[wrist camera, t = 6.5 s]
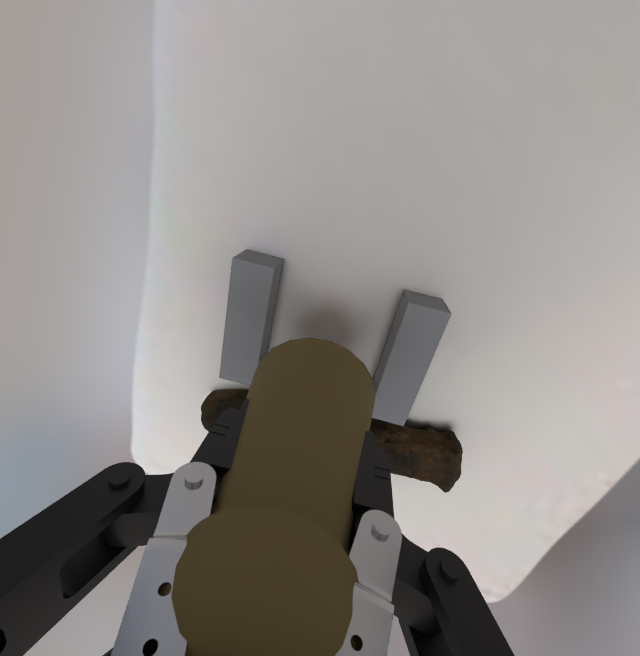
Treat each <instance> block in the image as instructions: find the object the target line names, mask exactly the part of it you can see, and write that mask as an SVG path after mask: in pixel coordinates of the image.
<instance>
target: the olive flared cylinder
mask: <svg viewBox="0 0 640 656" xmlns="http://www.w3.org/2000/svg"><path fill="white" fill-rule="evenodd" d="M246 398H247V399H249V404H248V408H247V412H246V415H245V419H244V423H243V426H242V430H241V434H240V437H239V441H238V445H237V448H236V452H235V456H234V459H233V463H232V467H231V469H230V470H229V471H228V472H227V473H226V474H224V476H223V478H222V481H221V485H220V488H219V490H218V493H217V496H216V499H215V501H214V504H213V506H212V509H211V515H210V516H208V517H207V518H205V519H203V520H201V521H200V522H199V523H198V524H196V525H195V526H194V527H193V528H192V529H191V530H190V531H189V533H188V534H187V535H186V537H187V544H186V547H185V549H184V551H183V553H182V555H181V557H180V559H179V561H178V563H177V565H176V569H175V575H174V582H173V589H172V587H171V585H167V586H165V588H164V589H163V590H162V591H161V593H160V596H166V595H168V594H169V593H170V592H171V589H172V596H171V599H172V603H173V608H174V612H175V616H176V620H177V625H178V629H179V633H180V634H181V635H182V636H183V637H184V639H185V640H186V641H187V646H186V653H185V656H335V655H336V654H337V652H338V651H339V650H340V649H341V647H342V646H343V643H344V640H345V637H346V634H347V631H348V628H349V625H350V621H351V618H352V615H353V588H354V584H355V582H357V583H359V580H358V575H357V570H356V568H355V566H354V564H353V563H352V561H351V560H350V558H349V556H348V555H347V551H348V545H349V540H350V534H351V529H352V523H353V518H354V516H353V511H352V503H353V494H354V484H355V479H356V474H357V470H358V465H359V460H360V455H361V451H362V446H363V441H364V437H365V432H366V430H367V431H369V430H370V425H371V419H372V414H373V408H374V403H375V390H374V383H373V379H372V377H371V376H370V374H369V372H368V370H367V368H366V367H365V365H364V363H363V362H361V361H360V360H359V359H358V358H357V357H356V356H355V355H354V354H353V353H352V352H351V351H349V350H348V349H345V348H343V347H341V346H339V345H337V344H335V343H333V342H331V341H325V340H320V339H314V338H305V339H297V340H289V341H287V342H285V343H283V344H281V345H279V346H276V347H274V348H272V349H271V350H270V351H269V352H268V353H267V354H266V355H265V356H264V357H263V358H262V359H261V360H260V362H259V364H258V366H257V369H256V371H255V373H254V375H253V378H252V381H251V385H250V388H249V391H248V394H247V397H246ZM350 642H351V646H352V648H353V649H354V650H355V651H357V646H356V643H355V642H354V640H353V639H351V640H350Z"/></svg>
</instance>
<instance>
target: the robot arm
mask: <svg viewBox="0 0 640 656" xmlns="http://www.w3.org/2000/svg"><path fill="white" fill-rule="evenodd" d="M248 404H249V399H247V398H246V399H245V401H244V403H243V404H242V406H241V408H240V410H239V409H235V408H231V407H230V408H228V409H227V410H225V411H224V412H222V413H221V414H220V415H219V417H218V418H217V420H216V421H215V423H214V425H213V426H212V428H211V429H210V432H209V433H208V434H207V436H206V437H205V439H204V441H203V442H202V444H201V445H200V447H199V449H198V450H197V452H196V454H195V455H194V457H193V458H192V460H191V461H190V463H187V464H185V465H183V466H181V467H180V468H178V469H177V470H176V471H175V472H174V473H171V474H164V475H145V472H144V470H143V468H142V467H140V466H139V465H137V464H135V463H130V462H123V463H118V464H115V465H112V466H109V467H108V468H106V469H104V470H103V471H101V472H100V473H98V474H97V475H95V476H94V477H92V478H91V479H89V480H88V481H86V482H85V483H83V484H82V485H80V486H79V487H77V488H76V489H74V490H73V491H71V492H70V493H68V494H67V495H65V496H64V497H62V498H61V499H59V500H58V501H56V502H55V503H53V504H52V505H50V506H49V507H47V508H46V509H44V510H43V511H41V512H40V513H38V514H37V515H35V516H34V517H32V518H31V519H29V520H28V521H26V522H25V523H23V524H22V525H20V526H19V527H17V528H16V529H14V530H13V531H11V532H10V533H8V534H7V535H5V536H4V537H2V538H1V539H0V656H23V655H24V654H25V653H26V652H27V651H28V650H29V649H30V648H31V647H32V646H33V645H34V644H35V643H37V641H39V640H40V639H41V638H42V637H43V636H44V635H45V634H46V633H47V632H48V631H49V630H50V629H51V628H52V627H53V626H54V625H56V623H58V621H60V620H61V619H62V618H63V617H64V616H65V615H66V614H67V613H68V612H69V611H70V610H71V609H72V608H73V607H74V606H76V605H77V604H78V602H80V601H81V600H82V599H83V598H84V597H85V596H86V595H87V594H88V593H89V592H90V591H91V590H92V589H94V588H95V587H96V586H97V585H98V584H99V583H100V582H101V581H102V580H103V579H104V578H105V577H106V576H107V575H108V574H109V573H110V572H111V571H112V570H114V569H115V568H116V567H117V566H118V565H119V564H120V563H121V562H122V561H123V560H124V559H125V558H126V557H127V556H128V555H129V554H130V553H131V552H133V550H135V549H136V548H137V547H138V546H143V545H146V549H145V551H144V555H143V558H142V561H141V564H140V567H139V570H138V573H137V576H136V579H135V582H134V585H133V588H132V592H131V595H130V598H129V601H128V604H127V607H126V610H125V613H124V616H123V620H122V623H121V626H120V629H119V632H118V635H117V638H116V641H115V644H114V647H113V648H112V649H111V650H109V651H108V652H107V653H105V654H104V655H103V656H185V653H186V646H187V641H186V640H185V639H184V637H183V636H182V635H181V634H180V633H179V629H178V625H177V620H176V616H175V612H174V608H173V603H172V599H171V596H172V589H173V582H174V575H175V569H176V565H177V563H178V561H179V559H180V557H181V555H182V553H183V551H184V549H185V547H186V544H187V537H186V535H187V534H188V533H189V531H190V530H191V529H192V528H193V527H194V526H195V525H196V524H198V523H199V522H200V521H201V520H203V519H205V518H207V517H208V516H210V515H211V509H212V506H213V504H214V501H215V499H216V496H217V493H218V490H219V488H220V485H221V481H222V478H223V476H224V474H226V473H227V472H228V471H229V470H230V469H231V467H232V463H233V459H234V456H235V452H236V448H237V445H238V441H239V437H240V434H241V430H242V426H243V423H244V419H245V415H246V412H247V408H248ZM352 511H353V516H354V518H353V523H352V529H351V534H350V540H349V545H348V551H347V555H348V556H349V558H350V560H351V561H352V563H353V564H354V566H355V568H356V570H357V575H358V580H359V583H357V582H355V584H354V588H353V615H352V618H351V621H350V625H349V628H348V631H347V634H346V637H345V640H344V643H343V646H342V647H341V649H340V650H339V651H338V652H337V654H336V655H335V656H387V651H388V645H389V638H390V633H391V627H392V621H393V615H395V616H397V617H398V619H399V623H400V626H401V629H402V632H403V635H404V638H405V641H406V644H407V647H408V650H409V653H410V656H514V654H513V652H512V650H511V648H510V647H509V645H508V643H507V641H506V639H505V637H504V636H503V634H502V632H501V630H500V628H499V626H498V624H497V622H496V621H495V619H494V617H493V615H492V613H491V611H490V609H489V607H488V606H487V604H486V602H485V600H484V598H483V596H482V594H481V592H480V591H479V589H478V587H477V585H476V583H475V581H474V579H473V578H472V576H471V574H470V572H469V570H468V568H467V567H466V565H465V564H464V562H463V561H462V560H461V559H460V558H459V557H458V556H457V555H456V554H454V553H453V552H451V551H449V550H447V549H444V548H434V549H431V550H430V551H429V552H427V551H425V550H424V549H422V548H420V547H419V546H417V545H415V544H414V543H412V542H411V541H409V540H408V539H407V538H406V537H405V536H404V535H403V534H402V533H401V529H400V527H399V525H398V523H397V522H396V521H395V519H394V511H393V499H392V487H391V474H390V462H389V458H388V456H387V454H386V452H385V450H384V448H381V447H377V446H374V433H373V432H371V431H367V430H366V432H365V437H364V441H363V446H362V451H361V455H360V460H359V465H358V470H357V474H356V479H355V484H354V494H353V503H352ZM167 585H171V587H172V589H171V592H170V593H169V594H168V595H166V596H160V593H161V591H162V590H163V589H164V588H165V586H167ZM351 639H353V640H354V642H355V643H356V646H357V651H355V650H354V649H353V648H352V646H351V642H350V640H351Z"/></svg>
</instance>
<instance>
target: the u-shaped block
mask: <svg viewBox="0 0 640 656" xmlns="http://www.w3.org/2000/svg"><path fill="white" fill-rule="evenodd" d="M283 261H284V259H282V258H278V257H274V256H270V255H266V254H262V253H258V252H254V251H250V250H245V251H243V252H242V253H240V254H238V255H237V256H235V257H233V259H232V268H231V277H230V286H229V295H228V304H227V313H226V322H225V331H224V340H223V349H222V358H221V367H220V376H219V378H223V379H226V380H230V381H234V382H238V383H241V384H245V385H249V386H250V385H251V381H252V378H253V375H254V373H255V371H256V369H257V366H258V364H259V362H260V360H261V359H262V358H263V357H264V356H265V355H266V354H267V351H268V345H269V340H270V334H271V328H272V323H273V317H274V311H275V306H276V300H277V295H278V289H279V283H280V278H281V272H282V266H283ZM450 316H451V312H450V311H449V309H448V307H447V306H446V304H445V303H444V301H443V299H439V298H435V297H431V296H427V295H423V294H420V293H416V292H412V291H408V290H404V292H403V295H402V298H401V301H400V304H399V307H398V310H397V312H396V315H395V318H394V321H393V324H392V327H391V330H390V333H389V335H388V338H387V341H386V344H385V347H384V350H383V353H382V356H381V358H380V361H379V364H378V367H377V370H376V373H375V376H374V379H373V383H374V390H375V403H374V408H373V414H372V418H374V419H378V420H382V421H386V422H389V423H393V424H397V425H401V426H404V424H405V422H406V419H407V417H408V415H409V412H410V410H411V408H412V405H413V403H414V401H415V398H416V396H417V393H418V391H419V389H420V386H421V384H422V382H423V379H424V377H425V375H426V372H427V370H428V368H429V365H430V363H431V360H432V358H433V356H434V353H435V351H436V349H437V346H438V344H439V342H440V339H441V337H442V335H443V332H444V330H445V328H446V325H447V323H448V320H449V318H450Z"/></svg>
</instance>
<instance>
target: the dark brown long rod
mask: <svg viewBox="0 0 640 656" xmlns="http://www.w3.org/2000/svg"><path fill="white" fill-rule="evenodd" d="M248 391H249V390H221V391H213V392H211V393H210V394H209V395H208V396H207V398H206V399H205V401H204V402H203V404H202V406H201V411H202V415H201V422H202V424H203V426H204V428H205V429H206V430H207V431H209V432H210V429H211V428H212V426H213V425H214V423H215V421H216V420H217V418H218V417H219V415H220V414H221V413H222V412H224V411H225V410H227V409H228V408H230V407H231V408H235V409H239V410H240V408H241V406H242V404H243V403H244V401H245V399H246V397H247V394H248ZM369 431H371V432H373V433H374V446H377V447H381V448H384V450H385V452H386V454H387V456H388V458H389V462H390V473H393V474H398V475H402V476H406V477H409V478H415V479H418V480H420V481H427V482H431V483H432V484H435V485H437V486H438V487H439V488H440V489H442V490H443V491H444V492H449V491H450V490H451V488H452V487H453V486H454V484H455V482H456V481H457V480H458V479H459V478H460V475H461V461H462V452H463V451H462V447H461V444H460V442H459V440H458V439H457V437H456V435H455V433H454V432H453V431H452V430H448V431H446V432H442V433H438V432H437V431H435V430H434V429H433V428H431V427H430V426H428V427H426V428H425V429H417V428H411V427H407V426H401V425H397V424H393V423H385V422H381V421H377V420H373V419H371V425H370V430H369Z"/></svg>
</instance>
